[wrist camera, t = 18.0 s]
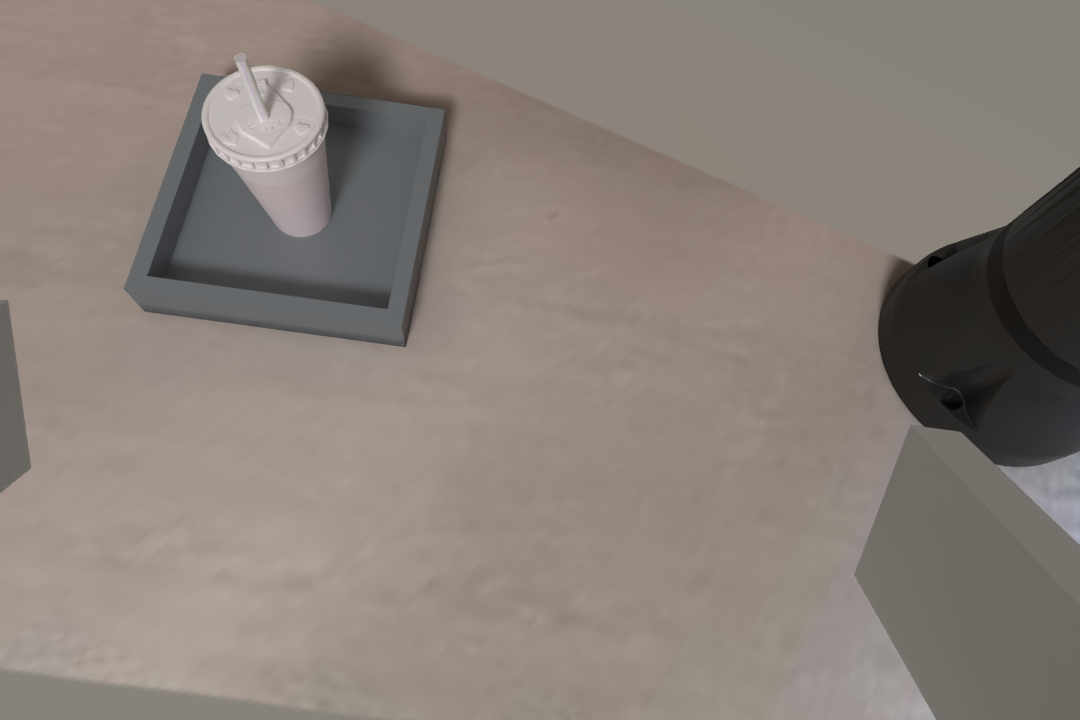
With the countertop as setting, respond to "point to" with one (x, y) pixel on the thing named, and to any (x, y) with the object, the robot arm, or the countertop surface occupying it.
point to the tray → (298, 262)
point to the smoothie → (274, 142)
